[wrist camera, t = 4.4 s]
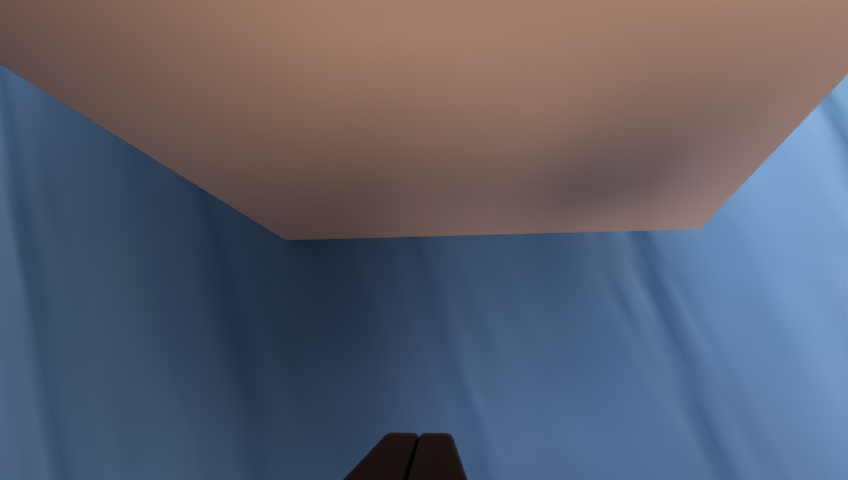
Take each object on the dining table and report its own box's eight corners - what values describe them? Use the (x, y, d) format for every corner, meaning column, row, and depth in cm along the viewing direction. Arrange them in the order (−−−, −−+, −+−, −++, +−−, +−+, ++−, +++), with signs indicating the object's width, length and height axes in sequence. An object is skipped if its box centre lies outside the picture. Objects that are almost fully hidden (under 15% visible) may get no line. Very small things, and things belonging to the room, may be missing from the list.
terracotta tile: (699, 228, 21) (1010, -96, 7) (285, 240, 22) (-107, -2, 9) (693, 143, 21) (970, -313, 8) (289, 161, 23) (-75, -182, 9)
